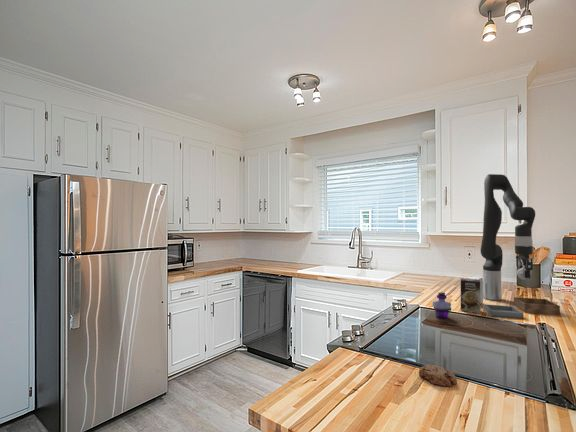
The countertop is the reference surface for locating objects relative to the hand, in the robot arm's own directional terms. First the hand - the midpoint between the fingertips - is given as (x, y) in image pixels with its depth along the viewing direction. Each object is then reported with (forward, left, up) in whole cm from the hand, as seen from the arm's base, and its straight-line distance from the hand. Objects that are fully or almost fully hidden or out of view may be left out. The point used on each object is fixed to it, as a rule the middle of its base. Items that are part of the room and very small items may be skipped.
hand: (524, 276), depth 167 cm
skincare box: (-21, +11, -18) cm, 29 cm away
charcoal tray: (-13, -8, -18) cm, 23 cm away
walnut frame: (+6, +5, -18) cm, 19 cm away
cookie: (-54, -91, -18) cm, 108 cm away
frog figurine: (0, 0, -2) cm, 2 cm away
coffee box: (-27, -6, -18) cm, 33 cm away
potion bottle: (-43, -23, -18) cm, 52 cm away
